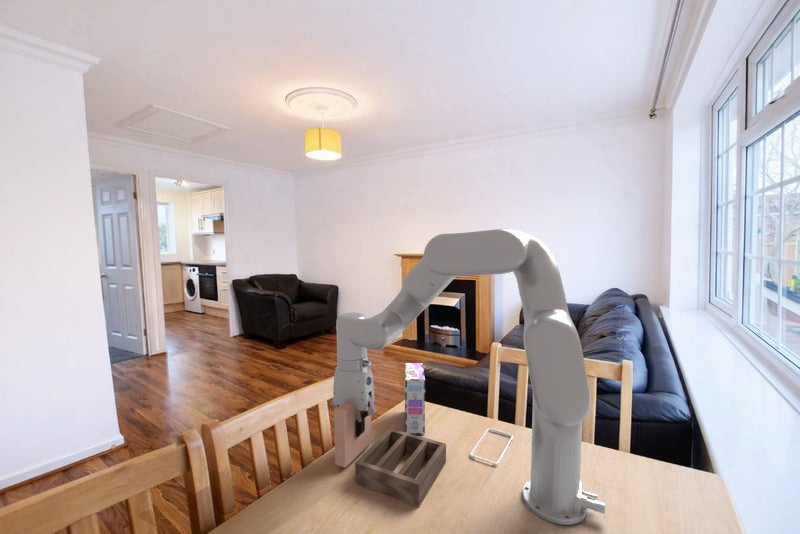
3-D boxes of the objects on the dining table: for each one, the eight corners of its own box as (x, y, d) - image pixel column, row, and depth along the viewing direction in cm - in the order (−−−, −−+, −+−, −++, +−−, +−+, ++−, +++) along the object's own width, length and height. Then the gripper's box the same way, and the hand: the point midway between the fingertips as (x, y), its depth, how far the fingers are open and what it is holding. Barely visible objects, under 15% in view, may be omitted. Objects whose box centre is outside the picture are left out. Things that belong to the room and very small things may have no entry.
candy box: (425, 435, 101) (425, 379, 100) (404, 435, 102) (404, 379, 100) (423, 411, 115) (423, 361, 114) (405, 411, 115) (404, 361, 114)
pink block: (371, 441, 97) (370, 392, 95) (345, 467, 86) (344, 412, 85) (362, 438, 98) (361, 389, 97) (335, 464, 87) (333, 409, 86)
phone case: (488, 431, 104) (469, 459, 91) (488, 427, 104) (469, 454, 91) (513, 439, 100) (497, 469, 88) (514, 434, 100) (497, 463, 87)
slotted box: (445, 462, 89) (446, 443, 89) (419, 507, 75) (419, 484, 74) (389, 445, 97) (389, 428, 96) (355, 483, 82) (355, 462, 82)
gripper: (388, 362, 89) (389, 432, 91) (335, 353, 97) (337, 418, 98) (372, 373, 83) (373, 448, 84) (317, 362, 90) (319, 431, 92)
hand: (354, 431), depth 91 cm, fingers closed on pink block, 3 cm apart
